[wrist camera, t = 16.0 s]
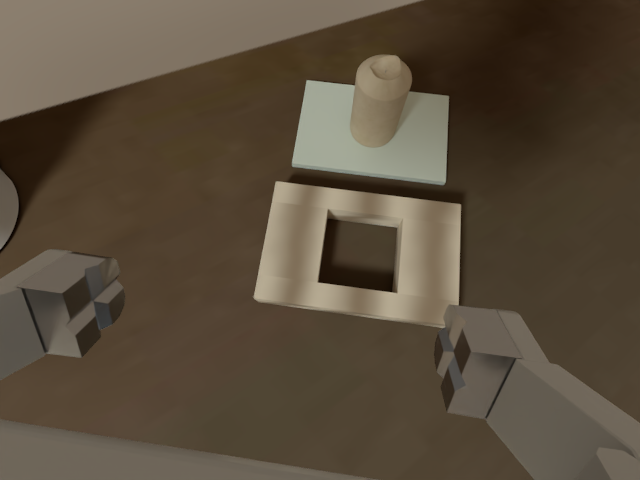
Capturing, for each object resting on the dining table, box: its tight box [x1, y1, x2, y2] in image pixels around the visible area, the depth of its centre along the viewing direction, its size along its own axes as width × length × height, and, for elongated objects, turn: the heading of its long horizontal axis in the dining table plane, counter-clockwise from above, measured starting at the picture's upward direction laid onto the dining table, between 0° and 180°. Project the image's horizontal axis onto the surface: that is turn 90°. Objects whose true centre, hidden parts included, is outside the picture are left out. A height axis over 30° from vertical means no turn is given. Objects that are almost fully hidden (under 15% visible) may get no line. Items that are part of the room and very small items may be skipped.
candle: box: [350, 55, 412, 148], centre depth 39 cm, size 6×6×10 cm
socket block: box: [254, 181, 461, 328], centre depth 38 cm, size 20×13×3 cm, turn 82°
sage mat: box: [292, 80, 449, 185], centre depth 44 cm, size 18×12×1 cm, turn 82°
